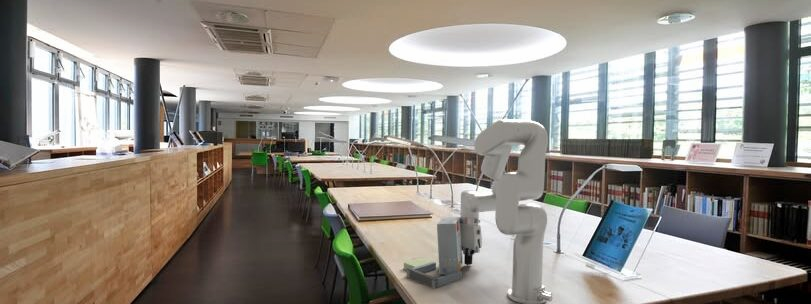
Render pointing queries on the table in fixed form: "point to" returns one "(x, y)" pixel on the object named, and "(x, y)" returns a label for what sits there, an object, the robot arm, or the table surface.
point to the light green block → (416, 263)
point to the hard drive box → (449, 245)
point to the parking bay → (434, 282)
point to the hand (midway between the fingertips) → (468, 263)
